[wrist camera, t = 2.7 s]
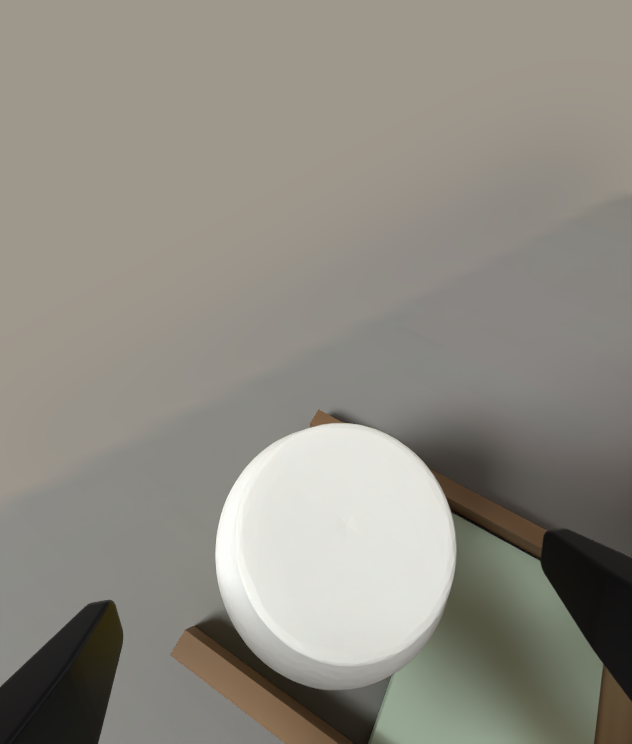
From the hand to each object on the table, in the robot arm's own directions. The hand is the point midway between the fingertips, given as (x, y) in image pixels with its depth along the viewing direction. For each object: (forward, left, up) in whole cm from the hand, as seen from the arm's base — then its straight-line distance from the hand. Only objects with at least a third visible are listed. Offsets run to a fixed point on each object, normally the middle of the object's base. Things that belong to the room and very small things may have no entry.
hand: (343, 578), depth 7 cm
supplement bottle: (+1, +1, -9) cm, 9 cm away
